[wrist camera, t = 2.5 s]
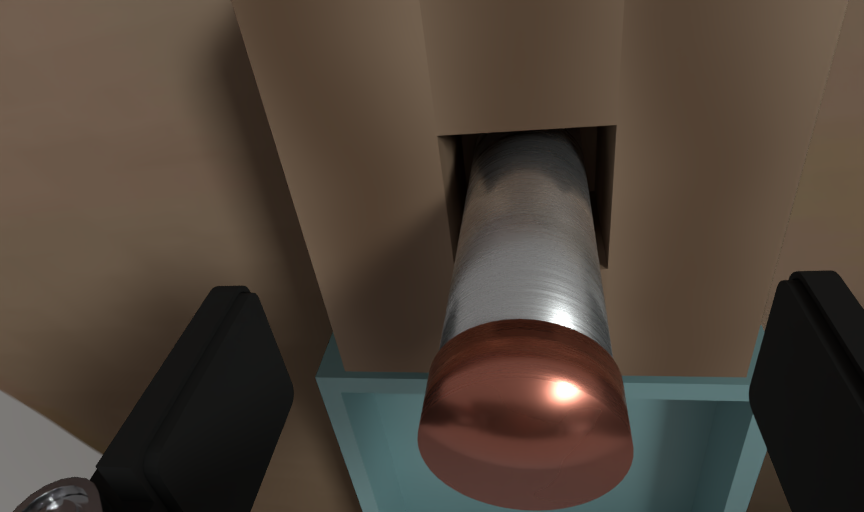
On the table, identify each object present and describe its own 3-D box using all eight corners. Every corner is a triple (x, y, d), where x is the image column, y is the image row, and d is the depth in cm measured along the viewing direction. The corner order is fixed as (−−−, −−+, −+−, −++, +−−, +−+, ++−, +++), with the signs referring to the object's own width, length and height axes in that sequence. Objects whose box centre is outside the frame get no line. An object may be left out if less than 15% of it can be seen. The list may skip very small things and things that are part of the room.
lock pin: (584, 79, 16) (642, 382, 8) (581, 180, 18) (626, 516, 9) (470, 87, 17) (402, 377, 8) (478, 184, 19) (431, 504, 10)
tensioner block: (779, -134, 14) (879, -115, 10) (705, 270, 21) (745, 377, 17) (298, -71, 16) (220, -34, 12) (377, 275, 23) (345, 371, 19)
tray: (755, 312, 22) (788, 385, 19) (696, 539, 31) (712, 611, 28) (339, 313, 24) (315, 377, 22) (400, 521, 34) (388, 584, 31)
